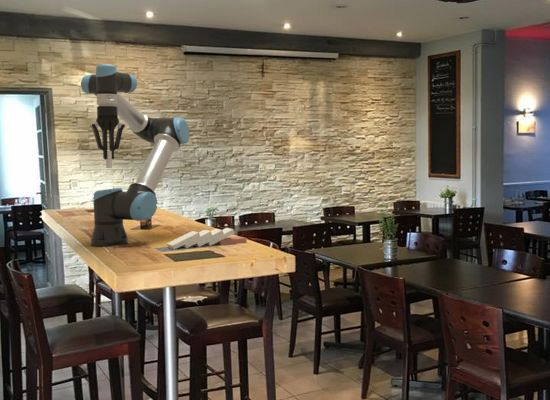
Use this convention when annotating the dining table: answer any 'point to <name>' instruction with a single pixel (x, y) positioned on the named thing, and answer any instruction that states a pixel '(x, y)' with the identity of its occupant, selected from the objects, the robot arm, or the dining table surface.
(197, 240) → the domino
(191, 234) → the domino
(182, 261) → the dining table surface
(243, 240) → the domino
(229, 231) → the domino
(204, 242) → the domino
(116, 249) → the dining table surface
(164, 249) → the runner mat
